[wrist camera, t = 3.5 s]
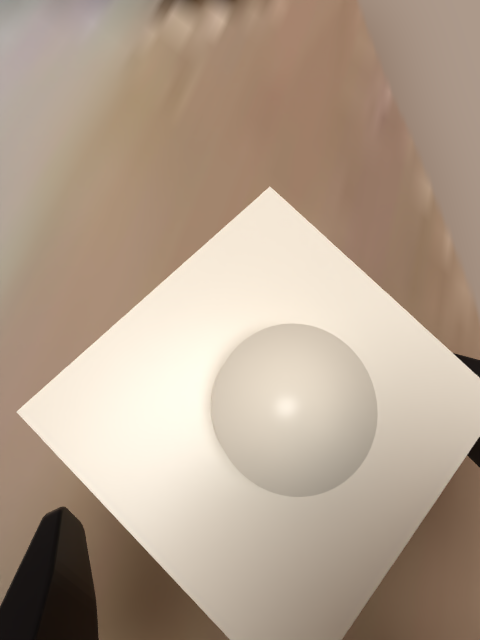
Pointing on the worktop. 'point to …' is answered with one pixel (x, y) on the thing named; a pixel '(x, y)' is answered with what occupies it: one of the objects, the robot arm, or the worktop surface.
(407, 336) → the tall brick
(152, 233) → the worktop surface
